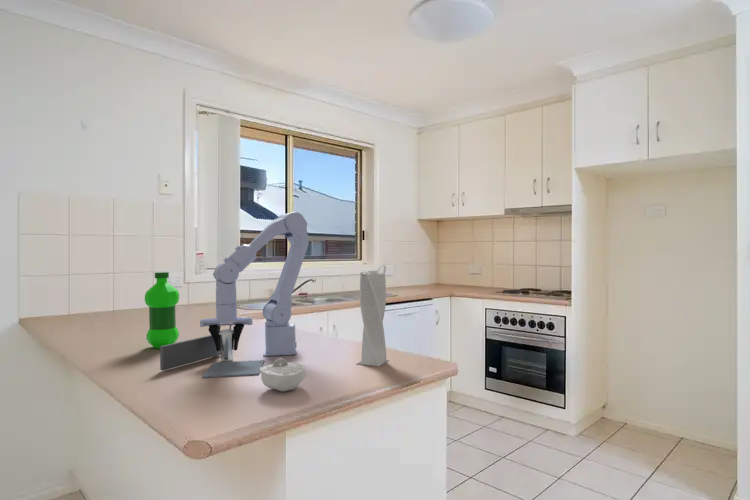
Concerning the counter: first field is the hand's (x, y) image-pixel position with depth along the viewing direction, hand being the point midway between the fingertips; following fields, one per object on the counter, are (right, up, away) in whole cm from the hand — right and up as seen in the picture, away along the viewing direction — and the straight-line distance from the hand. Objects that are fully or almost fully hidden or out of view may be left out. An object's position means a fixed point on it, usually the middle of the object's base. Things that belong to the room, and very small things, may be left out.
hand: (227, 350), depth 135 cm
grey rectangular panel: (-9, -3, -3) cm, 10 cm away
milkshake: (0, -3, 0) cm, 3 cm away
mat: (+5, -3, -10) cm, 12 cm away
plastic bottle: (-28, -3, +19) cm, 34 cm away
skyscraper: (+43, -3, -6) cm, 44 cm away
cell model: (+22, -3, -28) cm, 36 cm away
